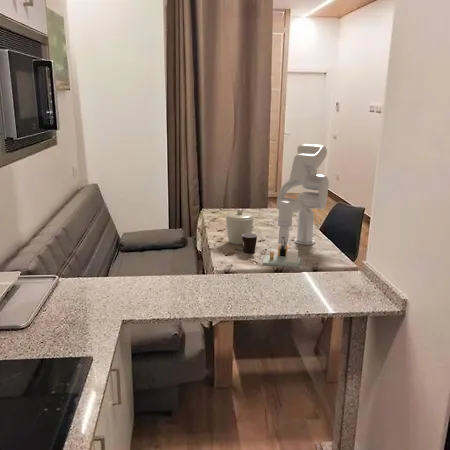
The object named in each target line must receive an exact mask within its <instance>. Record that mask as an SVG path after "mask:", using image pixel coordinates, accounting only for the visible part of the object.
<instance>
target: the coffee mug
mask: <svg viewBox="0 0 450 450" xmlns="http://www.w3.org/2000/svg"><path fill="white" fill-rule="evenodd" d="M242 239H243V245H242V248H243V253H244V254H246V255H252V254H255V253H256V247H257V239H258V234H256V233H246V234H243V235H242Z"/></svg>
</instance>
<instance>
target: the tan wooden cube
mask: <svg viewBox="0 0 450 450" xmlns="http://www.w3.org/2000/svg"><path fill="white" fill-rule="evenodd" d="M284 246H285V245H284ZM280 248H281V244H278V248H277V256H280ZM288 249H290V245H287V246H286V256H287V250H288Z"/></svg>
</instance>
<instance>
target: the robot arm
mask: <svg viewBox="0 0 450 450" xmlns="http://www.w3.org/2000/svg"><path fill="white" fill-rule="evenodd" d="M296 151H297V154H295V156H294V158H293V162H292V166H291V169H290V170H291V171H290V175H289V178H288V180H287V181H286V182H285V183H284V184H283V185H282V186H281V187H280V189H279V190H278V193H277V194H278V195H277V199H276V207H277V210H278V222H277V226H278V227H279V230H278V241H277V243H278V245H281V248H280V256H286V246H288V242H289V237H290V227H293V214H294V213H295V214H296V213H298V215H297V230H296V232H297V233H296V237H295V238H294V240H293V241H294V243H295V244H297V245H303V246H305V245H306V246H307V245H308V246H310V245H314V244H315V243H316V240H315V239H314V237H313V236H314V221H315V220H314V219H315V218H314V217H315V215H314V211H313V209H315V210H316V209H317V210H324V209H325V208H326V206H327V202H328V195H329V193H328V192H329V184H330V183H329V178H328V176H327V175H326V174H319V173H318V169H319V168H320V166H321V165H322V164H323V162H324V161H325V159H326V157H327V155H328V148H327V147H326V146H325V145H323V144H311V143H310V144H309V143H302V144H300V145H298V146H297V150H296ZM297 186H298V187H299V186H301V187H302V188H303V189H304V190H310V191H301V192H299V193H298V195H297V198H290V197H286V195H287V192H288V191H289V190H291V189H293V188H294V187H297ZM314 191H317V192H314ZM284 245H285V246H284Z"/></svg>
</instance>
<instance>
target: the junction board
mask: <svg viewBox="0 0 450 450" xmlns="http://www.w3.org/2000/svg"><path fill="white" fill-rule="evenodd" d="M298 256H299V249H291V248H289V249H288V250H287V256H278V255H275V252H274V251H270V252H269V254H265V255H264V259H263V260H262V265H264V266H273V265H278V266H277V267H284V266H285V268H286V267H287V268H296V267H297V268H299V267H300V262H301V257H298Z"/></svg>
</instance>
